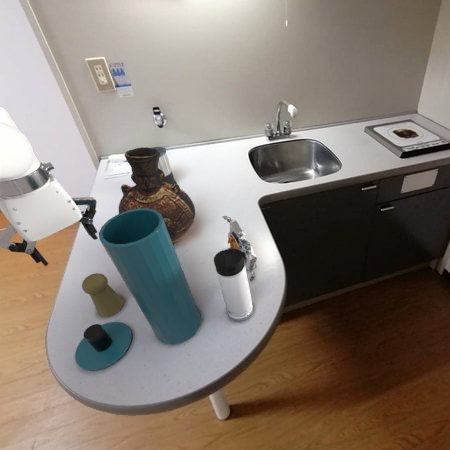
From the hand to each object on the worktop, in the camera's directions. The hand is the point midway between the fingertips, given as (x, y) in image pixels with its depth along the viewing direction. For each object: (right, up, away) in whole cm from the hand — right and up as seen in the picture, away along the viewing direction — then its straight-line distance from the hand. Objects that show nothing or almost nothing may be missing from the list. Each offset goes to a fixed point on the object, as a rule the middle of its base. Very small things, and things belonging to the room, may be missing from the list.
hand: (70, 248), depth 64 cm
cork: (0, -16, +14) cm, 21 cm away
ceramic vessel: (+6, +1, +34) cm, 35 cm away
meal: (+31, -6, +25) cm, 41 cm away
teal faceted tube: (+19, -19, +10) cm, 29 cm away
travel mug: (+34, -17, +13) cm, 40 cm away
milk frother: (-3, +18, +55) cm, 58 cm away
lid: (+4, -23, +5) cm, 23 cm away
